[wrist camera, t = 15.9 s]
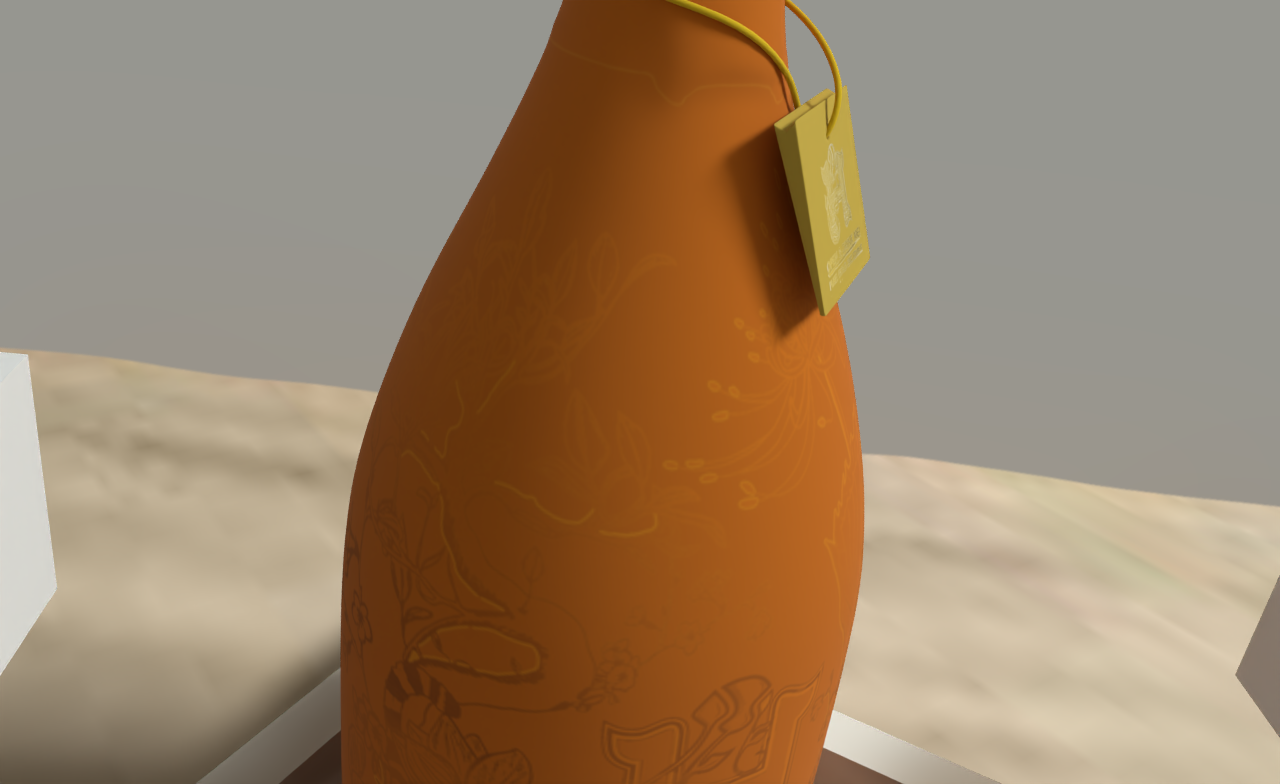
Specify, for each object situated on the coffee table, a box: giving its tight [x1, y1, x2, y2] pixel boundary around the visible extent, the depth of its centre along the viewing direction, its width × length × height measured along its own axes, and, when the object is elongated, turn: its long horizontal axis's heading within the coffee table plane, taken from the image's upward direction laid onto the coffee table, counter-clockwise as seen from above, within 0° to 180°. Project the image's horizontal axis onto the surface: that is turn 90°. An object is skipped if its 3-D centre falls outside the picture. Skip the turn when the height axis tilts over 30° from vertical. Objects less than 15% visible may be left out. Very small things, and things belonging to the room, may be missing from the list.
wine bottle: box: [341, 0, 870, 784], centre depth 21 cm, size 10×10×30 cm
